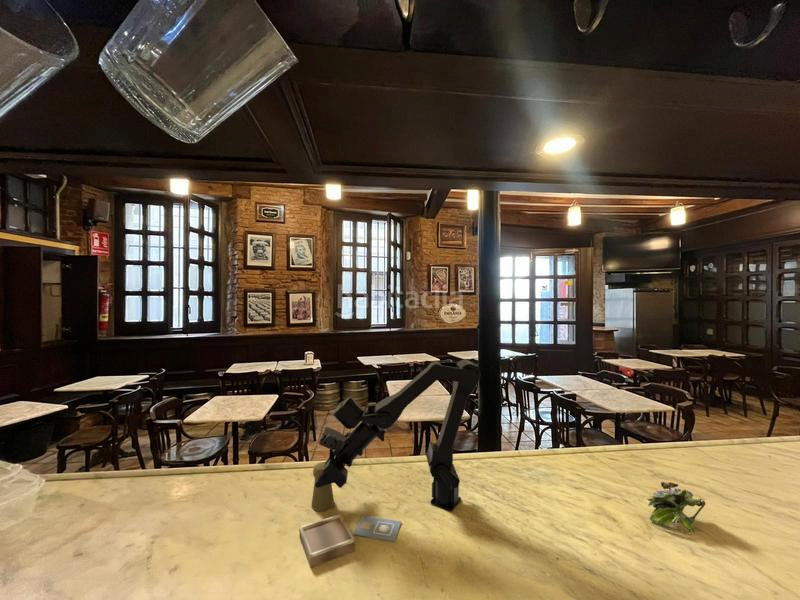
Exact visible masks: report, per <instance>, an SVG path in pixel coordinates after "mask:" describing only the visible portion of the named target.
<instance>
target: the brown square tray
mask: <svg viewBox="0 0 800 600" xmlns="http://www.w3.org/2000/svg"><path fill="white" fill-rule="evenodd" d="M299 540H300V543H301V545H302V548H303V551H304V554H305V557H306V560H307V561H308V565H309V568H313V567H316V566H318V565H321V564H324V563H327V562H329V561H332V560H335V559H338V558H340V557H342V556H345V555H347V554H350V553H354V552H355V551H356V541H355V538H354V535H353V534H352V532H351V530H350V529H349V527H348V526H347V523H346V522H345V519H344V518H343V517H342V515H341V513H339V514H337V515H333V516H330V517H327V518H323V519H321V520H317V521H314V522H311V523H307V524H304V525H302V526H299Z"/></svg>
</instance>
